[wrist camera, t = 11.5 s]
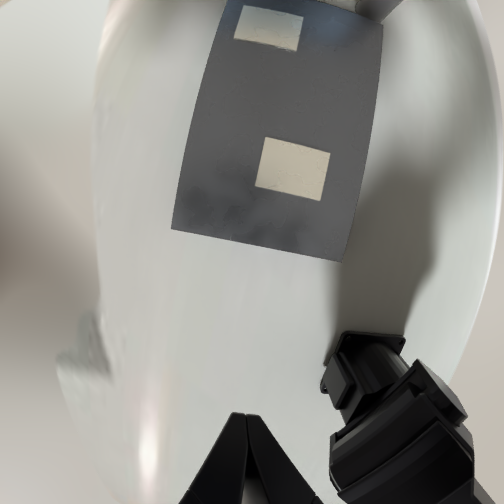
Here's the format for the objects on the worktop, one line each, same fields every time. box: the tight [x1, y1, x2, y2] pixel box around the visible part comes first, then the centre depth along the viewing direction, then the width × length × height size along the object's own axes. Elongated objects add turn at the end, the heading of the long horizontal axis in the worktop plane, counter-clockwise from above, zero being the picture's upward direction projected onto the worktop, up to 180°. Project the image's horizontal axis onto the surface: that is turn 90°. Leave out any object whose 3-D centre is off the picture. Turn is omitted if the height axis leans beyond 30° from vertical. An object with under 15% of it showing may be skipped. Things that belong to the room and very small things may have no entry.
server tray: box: [171, 0, 383, 263], centre depth 16 cm, size 11×18×2 cm, turn 168°
